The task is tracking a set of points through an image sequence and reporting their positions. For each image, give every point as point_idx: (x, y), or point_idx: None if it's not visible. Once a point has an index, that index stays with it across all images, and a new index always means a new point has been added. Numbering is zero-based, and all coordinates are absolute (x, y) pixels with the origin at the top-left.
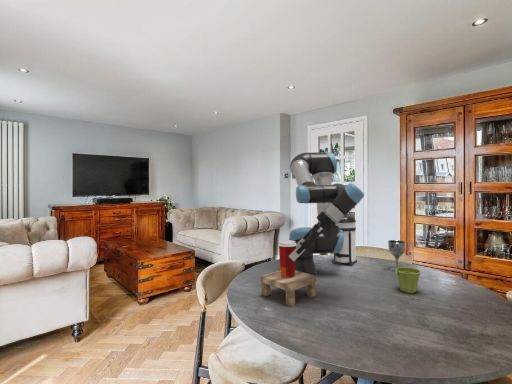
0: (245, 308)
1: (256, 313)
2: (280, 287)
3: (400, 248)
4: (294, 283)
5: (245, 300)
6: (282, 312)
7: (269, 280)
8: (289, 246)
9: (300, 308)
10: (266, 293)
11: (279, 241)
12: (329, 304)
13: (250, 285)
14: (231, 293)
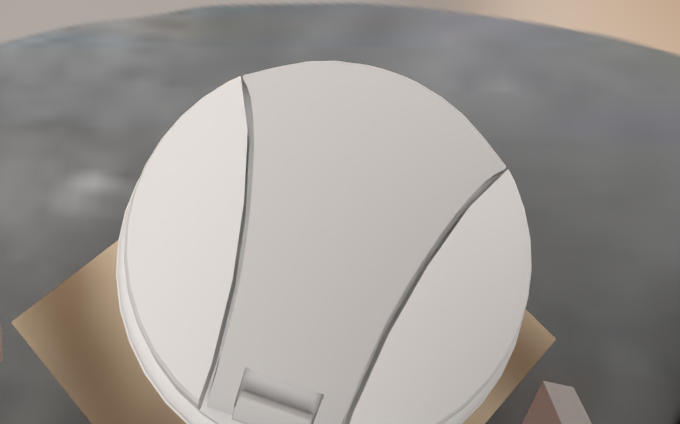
0: (110, 73)
1: (27, 127)
2: None
3: None
4: (55, 366)
5: (228, 74)
6: (7, 276)
7: None
8: (120, 271)
9: (46, 406)
10: None
11: (369, 68)
12: None
13: (482, 105)
14: (343, 5)
